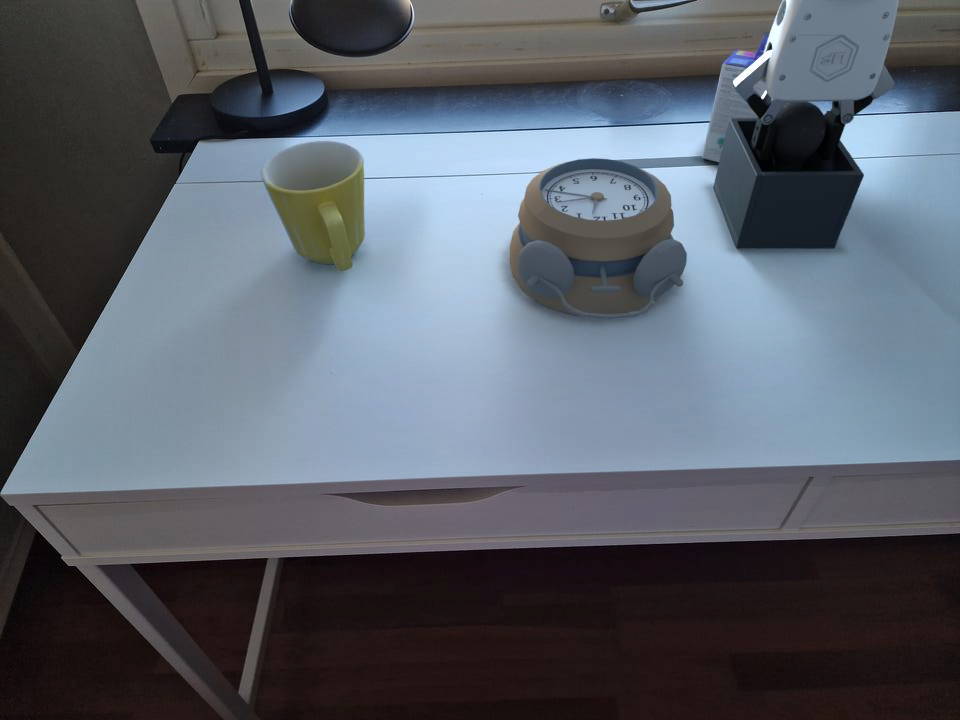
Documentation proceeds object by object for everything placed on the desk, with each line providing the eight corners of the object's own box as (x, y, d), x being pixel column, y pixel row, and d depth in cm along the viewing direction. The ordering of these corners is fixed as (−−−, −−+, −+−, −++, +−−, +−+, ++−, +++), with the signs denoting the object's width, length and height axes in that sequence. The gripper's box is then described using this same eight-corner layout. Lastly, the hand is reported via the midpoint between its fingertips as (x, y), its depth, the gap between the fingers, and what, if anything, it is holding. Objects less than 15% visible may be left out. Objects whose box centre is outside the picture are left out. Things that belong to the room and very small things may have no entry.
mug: (285, 229, 79) (262, 145, 72) (373, 218, 80) (360, 134, 73) (283, 305, 70) (256, 216, 62) (383, 291, 71) (369, 202, 63)
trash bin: (800, 187, 83) (824, 117, 76) (834, 248, 74) (864, 174, 68) (712, 187, 83) (729, 118, 77) (735, 248, 74) (756, 175, 68)
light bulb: (753, 201, 76) (772, 114, 69) (756, 175, 79) (773, 90, 72) (808, 206, 74) (833, 117, 67) (808, 179, 78) (832, 92, 71)
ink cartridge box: (790, 159, 87) (828, 40, 77) (779, 178, 84) (816, 58, 74) (713, 141, 91) (740, 26, 81) (700, 159, 88) (725, 42, 78)
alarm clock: (671, 143, 72) (721, 280, 56) (658, 218, 79) (699, 360, 62) (509, 145, 73) (511, 282, 57) (509, 219, 79) (510, 361, 63)
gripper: (760, -20, 58) (715, 173, 71) (971, -25, 57) (887, 171, 70) (740, -46, 63) (701, 138, 76) (932, -51, 62) (861, 136, 75)
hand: (791, 152), depth 73 cm, fingers closed on light bulb, 5 cm apart
